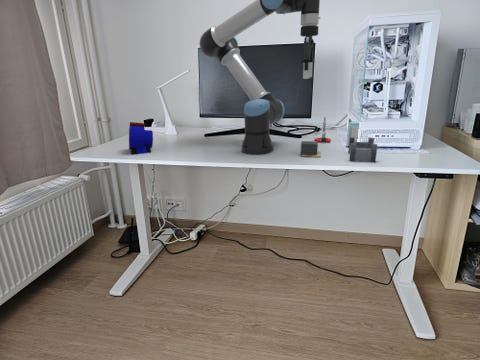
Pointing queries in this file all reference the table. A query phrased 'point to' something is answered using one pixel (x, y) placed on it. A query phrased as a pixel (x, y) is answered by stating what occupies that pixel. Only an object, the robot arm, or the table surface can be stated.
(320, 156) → the cork mat
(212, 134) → the table surface
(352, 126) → the can
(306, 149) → the plug
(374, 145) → the housing
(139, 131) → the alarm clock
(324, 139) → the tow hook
